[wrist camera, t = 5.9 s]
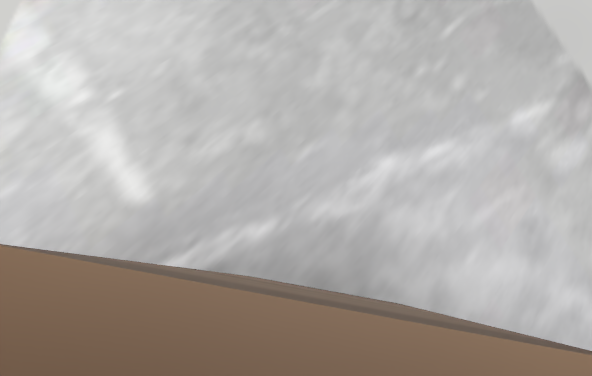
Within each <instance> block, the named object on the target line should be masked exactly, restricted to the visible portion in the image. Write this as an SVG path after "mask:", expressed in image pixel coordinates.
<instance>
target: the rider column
mask: <svg viewBox="0 0 592 376" xmlns="http://www.w3.org/2000/svg"><path fill="white" fill-rule="evenodd" d="M0 376H592V351H589V350H585V349H580V348H576V347H572V346H568V345H564V344H560V343H556V342H552V341H548V340H544V339H540V338H536V337H532V336H528V335H524V334H520V333H516V332H511V331H507V330H503V329H499V328H495V327H491V326H487V325H483V324H479V323H475V322H471V321H467V320H463V319H459V318H455V317H451V316H447V315H442V314H438V313H434V312H430V311H426V310H422V309H418V308H414V307H410V306H406V305H402V304H397V303H392V302H386V301H381V300H375V299H370V298H364V297H359V296H354V295H348V294H343V293H337V292H332V291H326V290H321V289H315V288H310V287H304V286H299V285H293V284H288V283H282V282H277V281H272V280H266V279H261V278H255V277H250V276H242V275H234V274H227V273H219V272H211V271H203V270H196V269H188V268H180V267H172V266H165V265H157V264H149V263H141V262H134V261H126V260H118V259H110V258H103V257H95V256H87V255H79V254H72V253H64V252H56V251H48V250H41V249H33V248H25V247H17V246H10V245H2V244H0Z"/></svg>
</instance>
